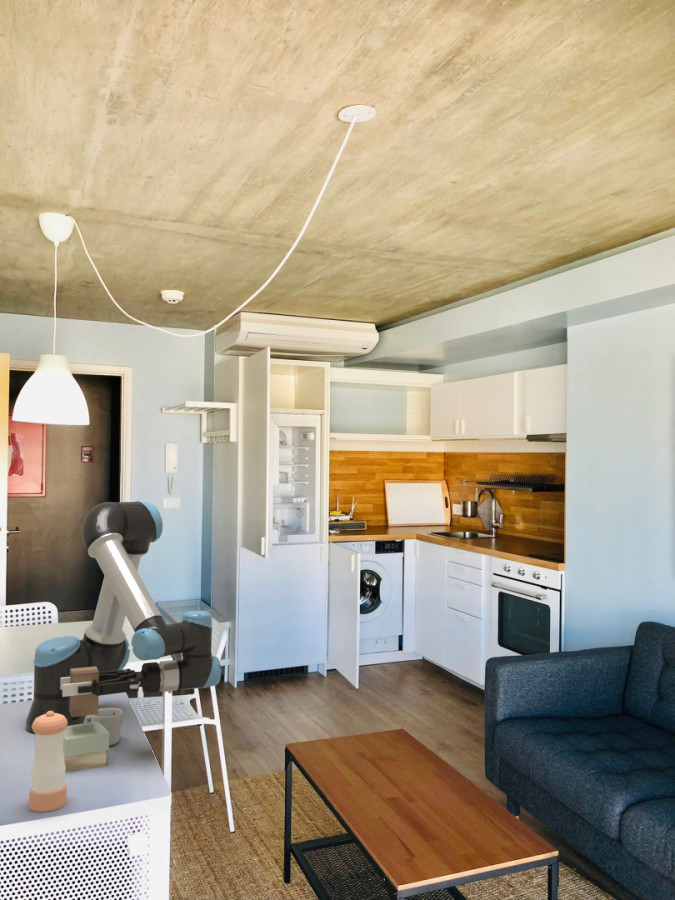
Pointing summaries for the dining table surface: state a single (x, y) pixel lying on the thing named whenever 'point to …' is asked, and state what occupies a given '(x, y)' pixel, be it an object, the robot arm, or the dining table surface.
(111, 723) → the cup
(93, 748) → the tower top block
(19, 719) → the dining table surface
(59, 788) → the pepper shaker
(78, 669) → the walnut block
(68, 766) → the tower bottom block
